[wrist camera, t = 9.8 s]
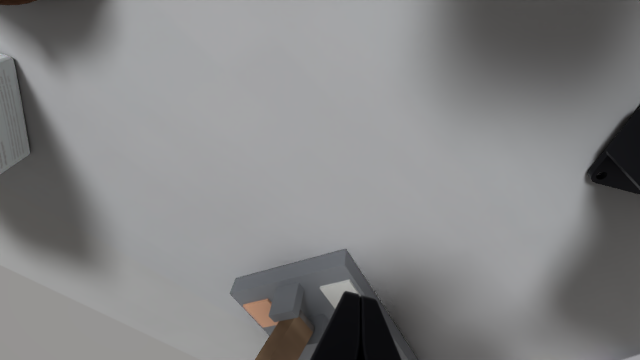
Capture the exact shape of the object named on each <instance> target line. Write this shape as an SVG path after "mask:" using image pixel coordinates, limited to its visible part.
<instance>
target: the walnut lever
mask: <svg viewBox="0 0 640 360" xmlns="http://www.w3.org/2000/svg"><path fill="white" fill-rule="evenodd" d="M313 332H314V325H313V324H312V323H311V322H310V321H309V319H308V318H307V317H306V316H305V314H304V313H303V312H302V311H301V310H300V312H299V317H298V318H293V319H288V320H283V321H279V322H278V324H277V325H276V327H275V329H274V330H273V332H272V333H271V335H270V336H269V338H268V340H267V341H266V343H265V344H264V346H263V348H262V349H261V351H260V352H259V354H258V355H257V357H256V359H255V360H298V359H299V357H300V355H301V353H302V352H303V350H304V348H305V346H306V344H307V343H308V341H309V339H310V337H311V335H312V334H313Z"/></svg>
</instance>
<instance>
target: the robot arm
mask: <svg viewBox="0 0 640 360" xmlns="http://www.w3.org/2000/svg"><path fill="white" fill-rule="evenodd" d="M600 172H603V173H602V174H600V175H597V174H598V173H600ZM588 176H589V178H590V179H591V180H592V181H593V182H595V183H598V184H602V185H605V186H609V187H613V188H617V189H621V190H625V191H629V192H633V193H637V194H640V107H639V108H638V109H637V111H636V112H635V113H634V114H633V116H632V117H631V118H630V119H629V121H628V122H627V123H626V124H625V126H624V127H623V128H622V129H621V131H620V132H619V133H618V134H617V135H616V137H615V138H614V139H613V140H612V142H611V143H610V144H609V145H608V147H607V148H606V149H605V151H604V152H603V153H602V154H601V156H600V157H599V158H598V159H597V161H596V162H595V163H594V164H593V165H592V167H591V168H590V169H589V171H588ZM310 360H402V359H401V357H400V354H399V352H398V349H397V347H396V344H395V342H394V340H393V337H392V335H391V332H390V330H389V328H388V325H387V323H386V320H385V318H384V315H383V313H382V311H381V308H380V306H379V303H378V301H377V300H376V299H375V298H373V297H369V296H365V295H361V296H359V294H357V293H353V292H349V291H345V292H344V293H343V294H342V296H341V298H340V300H339V302H338V304H337V306H336V308H335V310H334V312H333V314H332V316H331V318H330V320H329V322H328V324H327V326H326V328H325V330H324V332H323V334H322V336H321V338H320V340H319V342H318V344H317V346H316V348H315V350H314V352H313V354H312V356H311V358H310Z"/></svg>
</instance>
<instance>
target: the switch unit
mask: <svg viewBox="0 0 640 360" xmlns="http://www.w3.org/2000/svg"><path fill="white" fill-rule="evenodd" d="M345 291H349V292H353V293H357V294H359V296H361V295H365V296H369V297H373V298H375V299H376V300H377V301H378V303H379V306H380V308H381V311H382V313H383V315H384V318H385V320H386V323H387V325H388V328H389V330H390V332H391V335H392V337H393V340H394V342H395V344H396V347H397V349H398V352H399V354H400V357H401V359H402V360H418V359H417V358H416V356H415V355H414V353H413V351H412V350H411V348H410V347H409V345H408V344H407V342H406V341H405V339H404V338H403V336H402V334H401V333H400V331H399V330H398V328H397V327H396V325H395V324H394V322H393V321H392V319H391V317H390V316H389V314H388V313H387V311H386V310H385V308H384V307H383V305H382V304H381V302H380V301H379V299H378V297H377V296H376V294H375V293H374V291H373V290H372V288H371V287H370V285H369V284H368V282H367V280H366V279H365V277H364V276H363V274H362V273H361V271H360V270H359V268H358V267H357V265H356V263H355V262H354V260H353V259H352V257H351V256H350V254H349V253H348V251H347V250H346V249H343V250H340V251H336V252H332V253H329V254H325V255H321V256H317V257H314V258H310V259H306V260H303V261H299V262H295V263H292V264H288V265H284V266H280V267H277V268H273V269H269V270H266V271H262V272H258V273H254V274H251V275H247V276H243V277H240V278H236V279H235V282H234V284H233V287H232V289H231V292H230V294H231V296H232V297H233V298H234V299H235V300H236V301H237V302H238V303H239V304H240V305H241V306H242V307H243V308H244V309H245V310H246V311H247V312H248V313H249V315H250V316H251V317H252V318H253V319H254V320H255V321H256V322H257V323H258V324H259V325H260V326H261V327H262V328H263V329H264V330H265V331H266V332H267V334H268V335H269V336H270V335H271V333H272V332H273V330H274V329H275V327H276V325H277V324H278V322H279V321H283V320H288V319H293V318H298V317H299V312H300V310H301V311H302V312H303V313H304V314H305V316H306V317H307V318H308V319H309V321H310V322H311V323H312V324H313V325H314V332H313V334H312V335H311V337H310V339H309V341H308V343H307V344H306V346H305V348H304V350H303V352H302V353H301V355H300V357H299V359H298V360H310V358H311V356H312V354H313V352H314V350H315V348H316V346H317V344H318V342H319V340H320V338H321V336H322V334H323V332H324V330H325V328H326V326H327V324H328V322H329V320H330V318H331V316H332V314H333V312H334V310H335V308H336V306H337V304H338V302H339V300H340V298H341V296H342V294H343V293H344V292H345Z"/></svg>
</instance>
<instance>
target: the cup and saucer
mask: <svg viewBox="0 0 640 360" xmlns="http://www.w3.org/2000/svg"><path fill="white" fill-rule="evenodd" d="M33 1H36V0H0V5H20V4H26V3H30V2H33Z"/></svg>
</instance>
